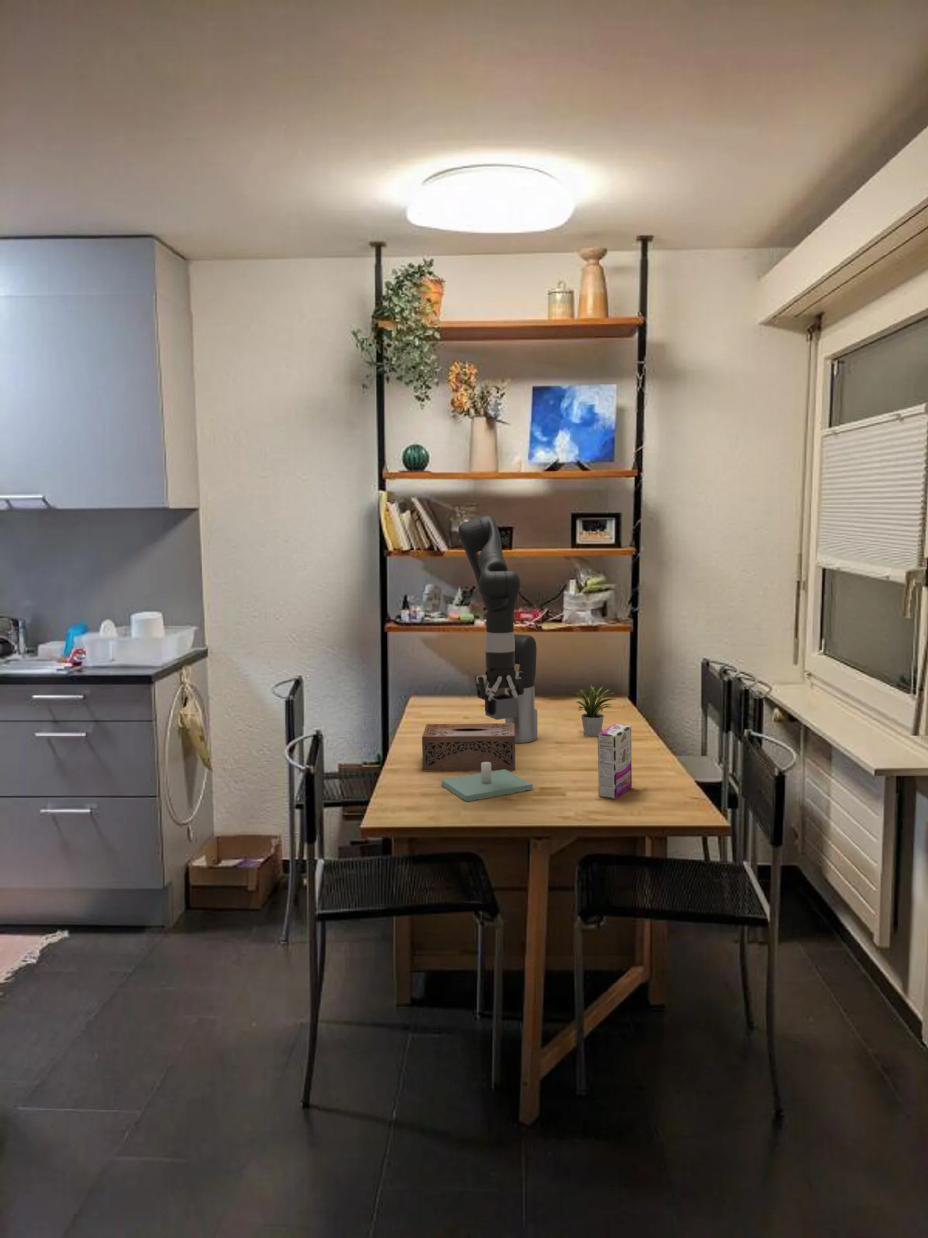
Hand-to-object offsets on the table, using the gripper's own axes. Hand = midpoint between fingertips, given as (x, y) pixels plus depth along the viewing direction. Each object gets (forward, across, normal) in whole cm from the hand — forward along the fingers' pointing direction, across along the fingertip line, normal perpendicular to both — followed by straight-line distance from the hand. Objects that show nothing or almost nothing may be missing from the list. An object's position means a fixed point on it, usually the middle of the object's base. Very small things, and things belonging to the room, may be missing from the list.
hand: (500, 713), depth 226 cm
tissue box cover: (+20, -3, -24) cm, 31 cm away
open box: (+1, 0, 0) cm, 1 cm away
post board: (+20, +4, -2) cm, 20 cm away
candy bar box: (+20, -23, +18) cm, 35 cm away
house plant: (+20, -50, -31) cm, 62 cm away
